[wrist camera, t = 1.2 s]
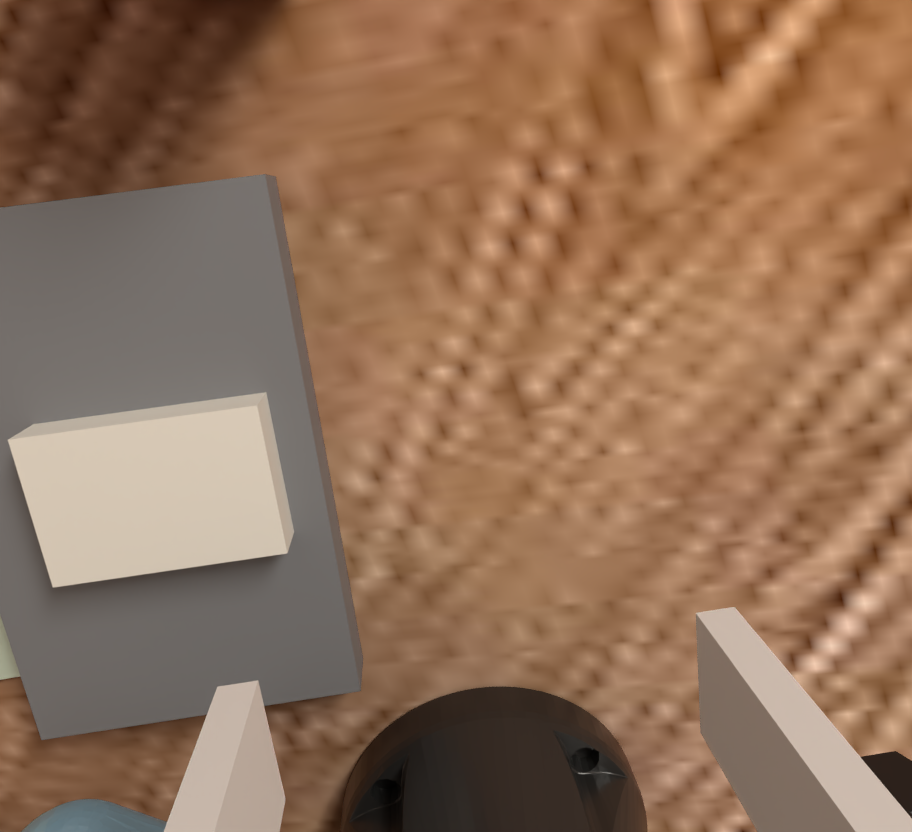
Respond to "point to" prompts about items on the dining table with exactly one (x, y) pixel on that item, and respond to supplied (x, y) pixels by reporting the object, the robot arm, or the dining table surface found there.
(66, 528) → the cream flat block
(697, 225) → the dining table surface
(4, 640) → the sage mat
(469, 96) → the dining table surface
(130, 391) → the plate
